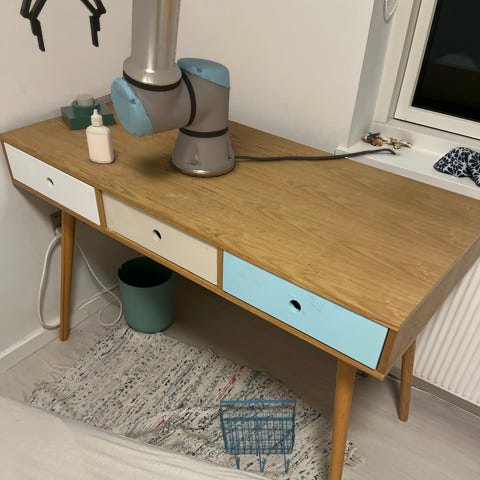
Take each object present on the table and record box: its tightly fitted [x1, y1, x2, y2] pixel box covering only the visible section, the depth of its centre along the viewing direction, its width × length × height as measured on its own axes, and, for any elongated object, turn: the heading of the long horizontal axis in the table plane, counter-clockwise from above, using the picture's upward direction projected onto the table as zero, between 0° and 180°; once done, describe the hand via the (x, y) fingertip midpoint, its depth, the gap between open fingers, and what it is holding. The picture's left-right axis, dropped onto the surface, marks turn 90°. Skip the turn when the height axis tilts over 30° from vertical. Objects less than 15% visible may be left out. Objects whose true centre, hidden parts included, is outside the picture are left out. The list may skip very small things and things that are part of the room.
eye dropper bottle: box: [85, 109, 115, 164], centre depth 119 cm, size 4×6×12 cm
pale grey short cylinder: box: [76, 93, 94, 106], centre depth 138 cm, size 4×4×2 cm
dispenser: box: [59, 98, 115, 131], centre depth 140 cm, size 12×10×5 cm
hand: (69, 48), depth 127 cm, fingers open, 13 cm apart
